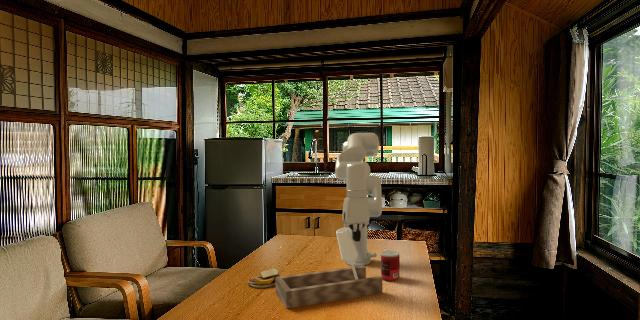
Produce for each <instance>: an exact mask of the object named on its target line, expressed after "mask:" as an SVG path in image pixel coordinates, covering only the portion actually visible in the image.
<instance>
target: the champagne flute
mask: <svg viewBox="0 0 640 320" xmlns="http://www.w3.org/2000/svg"><path fill="white" fill-rule="evenodd" d="M335 233H336V238H337V244H338V248H339V253H340V258H341V260H342V262H344V263H345V262H346V263H348V264H351V265H350V267H352V270H353V274H354V277H355V280H356V279H358V277H357V273H356V270H355V267H356V266H354V263H355V261H356V259H357V257H358V253H357V250H356V248H355V245H354V243H353V240H352V238H351V236H350V233H349V231H348V228H347V227H341V228H339V229H337V230H336V231H335ZM346 263H345V264H346ZM348 264H347V265H348Z"/></svg>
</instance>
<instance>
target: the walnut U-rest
mask: <svg viewBox="0 0 640 320" xmlns="http://www.w3.org/2000/svg"><path fill="white" fill-rule="evenodd" d="M354 267H355V270H356V273H357V277H358V279H356V280H355V277H354V274H353V270H352V267H351V266H350V267H344V268H337V269H330V270H329V269H328V270H321V271H320V270H319V271H314V272H306V273H299V274H298V273H297V274H289V275H283V276H281V275H280V277H275V294H276V295H277V297H278V298H279V300H280V301H281V303H282V304H283V306H284V307H285V309H286V310H287V309H291V308H298V307H305V306H311V305H318V304H323V303H330V302H336V301H341V300H342V301H343V300H348V299H355V298H359V297H360V298H362V297H365V296H366V297H367V296H372V295H373V296H375V295H379V294H383V279H382V277H381V275H378V276H371V277H367V267H366V265H363V266H354Z"/></svg>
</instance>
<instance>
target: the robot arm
mask: <svg viewBox="0 0 640 320" xmlns="http://www.w3.org/2000/svg"><path fill="white" fill-rule="evenodd" d="M379 147H380V141H379V137H378V135H377V134H376V133H374V132H355V133H351V134H350V135H348V137H347V140H346V141H344V142H343V144H342V152H341V153H339V154H338V155H337V157H336V160H335V167H334V170H335V171H334V174H335V176H336V178H337V179H338V180H340V181H346V197H344V199H343V203H342V204H343V207H342V219H341V220H342V222H343V224H342V225H343V227H344V228H348V231H349V233H350V236H351V238H352V240H353V243H354V245H355V248H356V250H357V253H358V257H357V259H356V261H355V263H354V267H357V266H367V265H369V264H371V261H372V260H371V258H376V257H377V256H378V255H377V253H376V252H371V251H370V252H369V251H368V226H369V225H370V218H379V217H380V216H381V215H382V212H383V201H382V200H383V197H382V184H381V178H380V177H379V176H377V175H371V167H370V165H369V164H368V162H367V161H363V160H364V159H365V158H372V157H376V156H377V155H378V154H379ZM344 263H345V264H346V265H349V266H351V264H348V263H346V262H344Z"/></svg>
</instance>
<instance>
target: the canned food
mask: <svg viewBox="0 0 640 320" xmlns="http://www.w3.org/2000/svg"><path fill="white" fill-rule="evenodd" d="M400 260H401V259H400V253H399V252H398V251H396V250H384V251H381V253H380V277H382V281H385V282H392V283H393V282H397V281H399V280H400V273H401V272H400V271H401V269H400V265H401V264H400Z"/></svg>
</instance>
